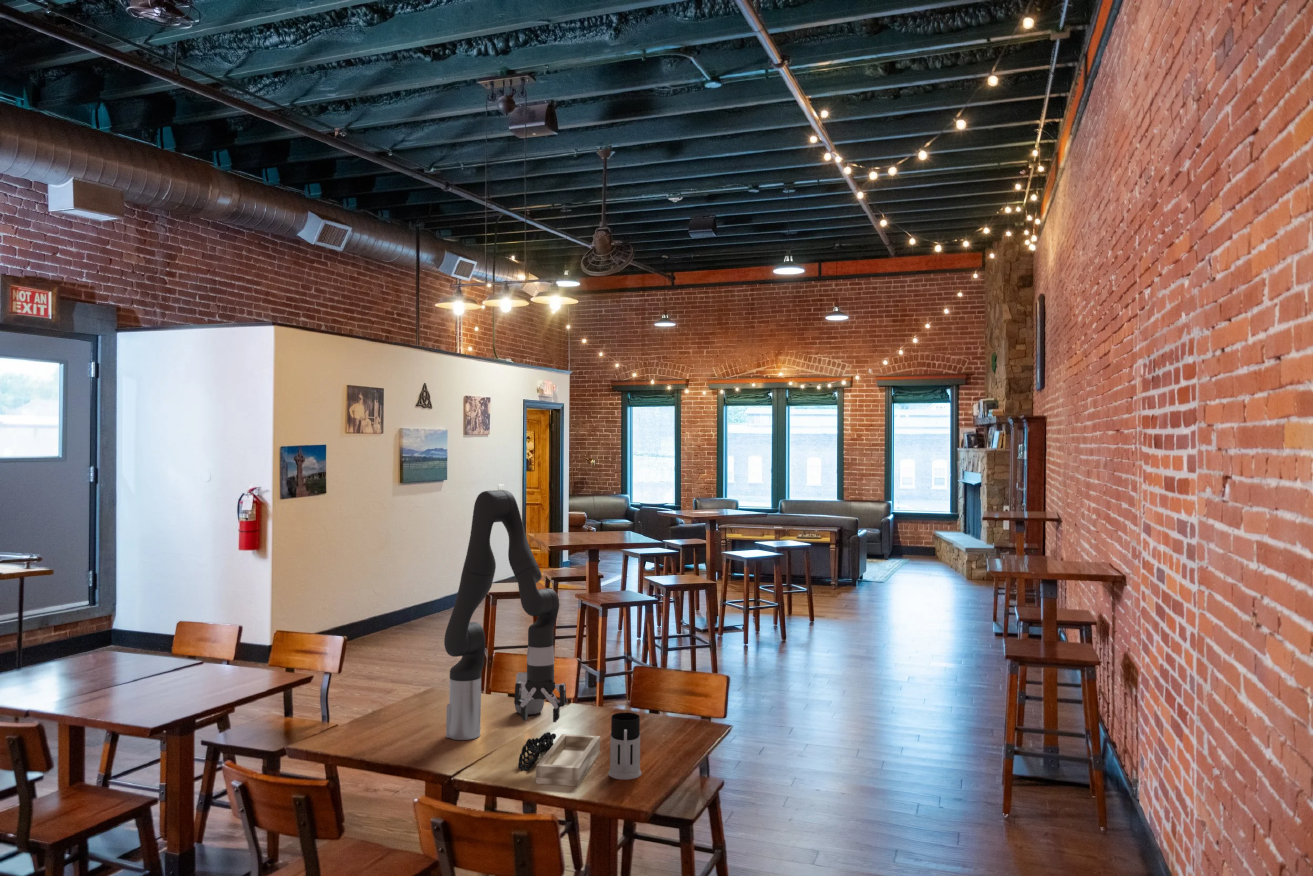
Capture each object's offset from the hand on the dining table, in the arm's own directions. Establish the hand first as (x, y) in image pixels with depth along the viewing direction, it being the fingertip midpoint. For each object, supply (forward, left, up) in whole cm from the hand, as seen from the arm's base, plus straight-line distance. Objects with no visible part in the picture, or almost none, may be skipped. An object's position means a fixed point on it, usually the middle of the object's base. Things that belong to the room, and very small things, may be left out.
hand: (540, 720), depth 252 cm
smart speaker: (-15, +42, -10) cm, 46 cm away
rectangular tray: (+10, -6, -10) cm, 15 cm away
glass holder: (+26, -11, -10) cm, 30 cm away
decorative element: (-1, 0, -11) cm, 11 cm away
